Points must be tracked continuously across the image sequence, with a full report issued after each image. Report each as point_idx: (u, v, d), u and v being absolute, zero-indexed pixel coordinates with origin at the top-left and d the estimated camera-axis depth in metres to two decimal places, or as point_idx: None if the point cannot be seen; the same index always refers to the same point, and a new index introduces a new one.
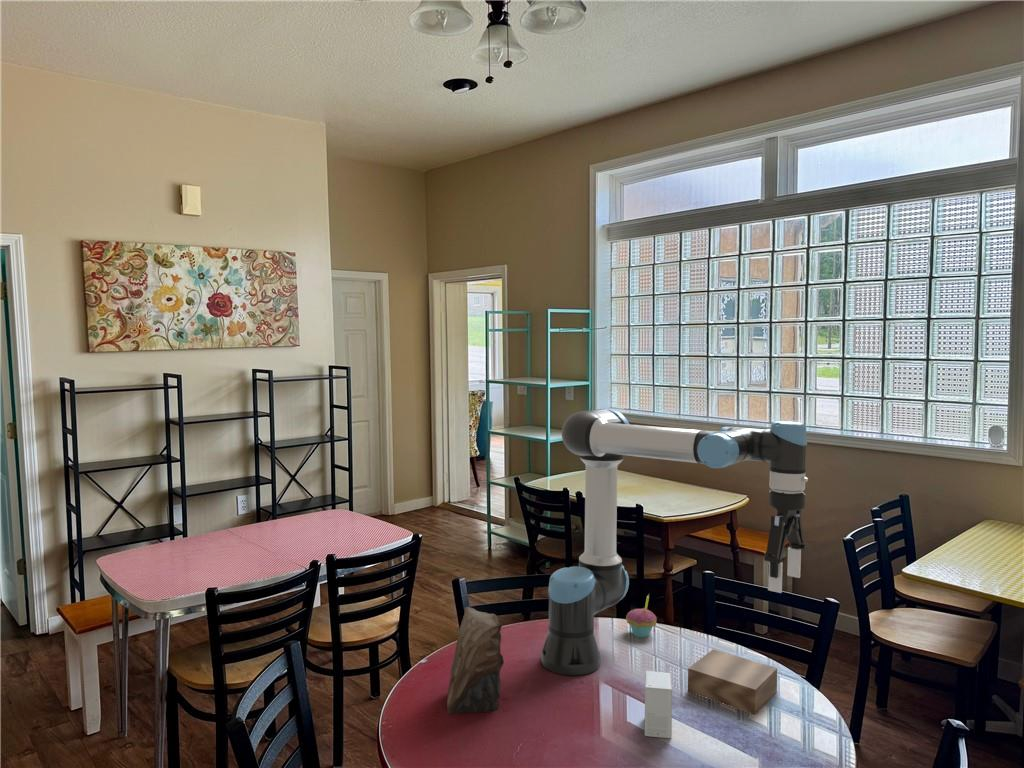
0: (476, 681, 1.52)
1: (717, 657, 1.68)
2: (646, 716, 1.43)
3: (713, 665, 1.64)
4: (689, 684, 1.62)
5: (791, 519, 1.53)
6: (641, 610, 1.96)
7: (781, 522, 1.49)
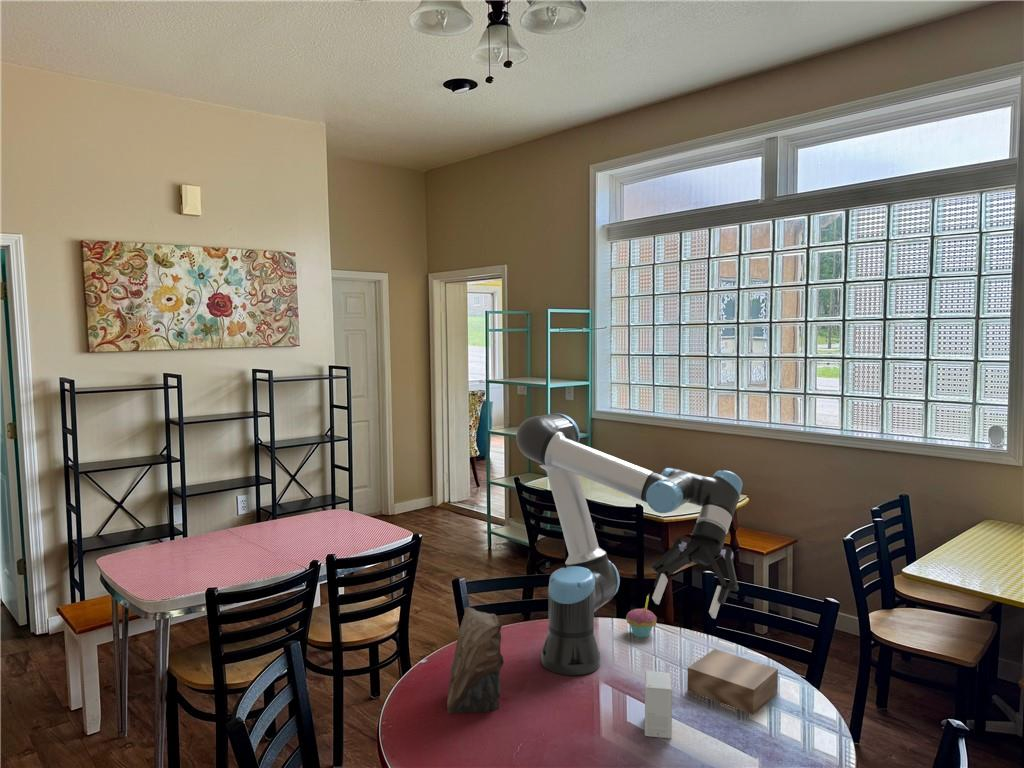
0: (476, 681, 1.52)
1: (718, 657, 1.68)
2: (646, 716, 1.43)
3: (713, 665, 1.64)
4: (689, 683, 1.63)
5: None
6: (641, 610, 1.96)
7: (733, 557, 1.58)
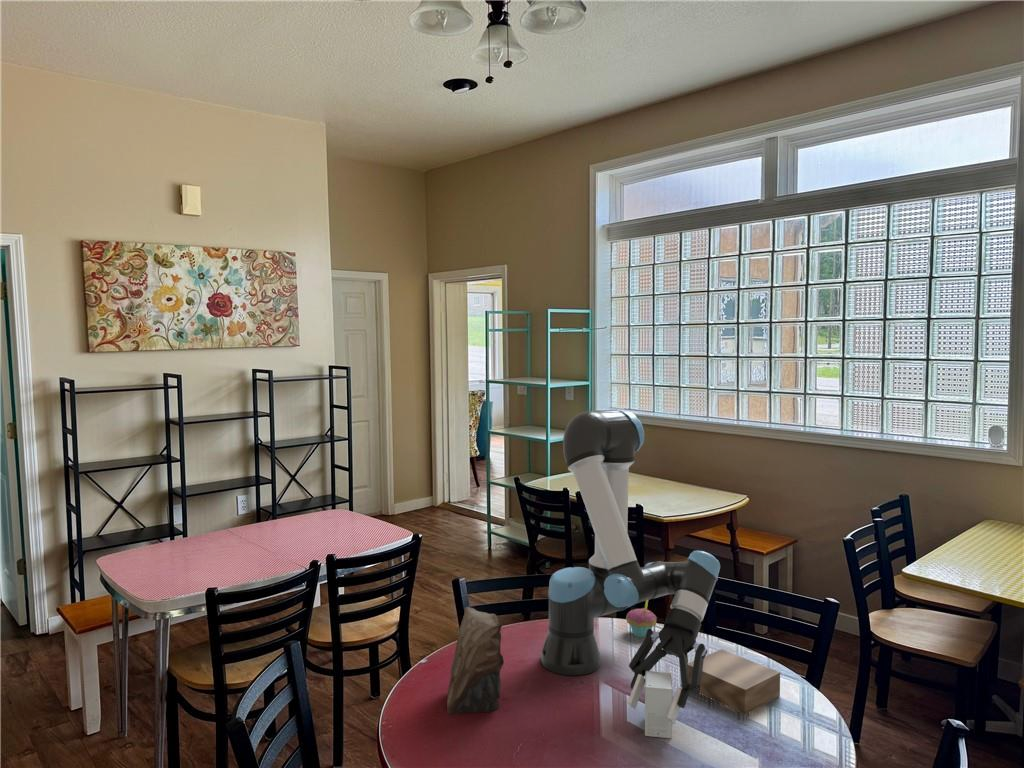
0: (476, 681, 1.52)
1: (722, 657, 1.68)
2: (646, 716, 1.43)
3: (713, 663, 1.65)
4: None
5: None
6: (641, 610, 1.96)
7: (705, 654, 1.48)
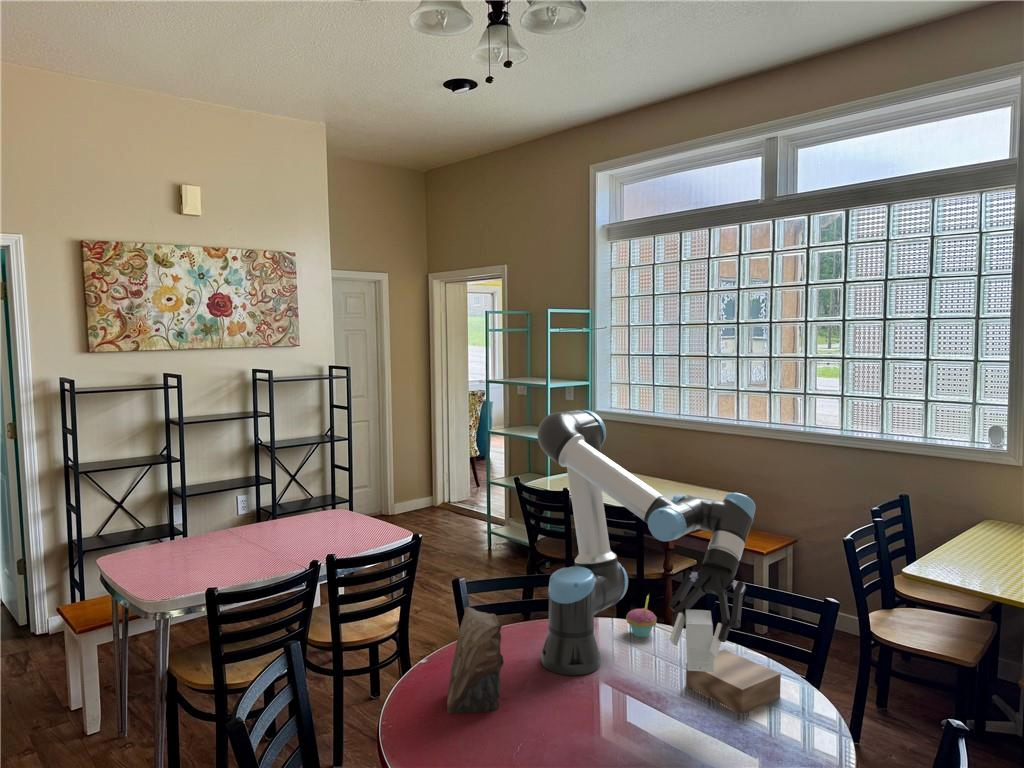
0: (476, 681, 1.52)
1: (724, 657, 1.69)
2: (688, 651, 1.47)
3: (714, 663, 1.65)
4: (687, 678, 1.65)
5: None
6: (641, 610, 1.96)
7: (744, 591, 1.51)
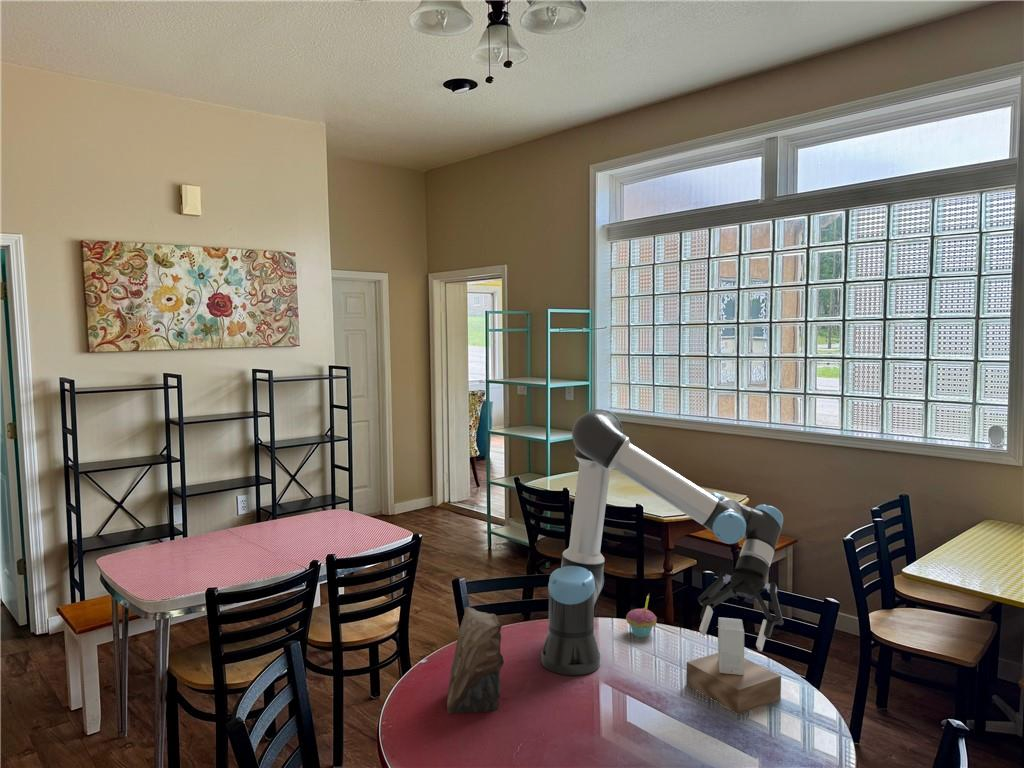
0: (476, 681, 1.52)
1: None
2: (720, 655, 1.60)
3: (714, 663, 1.65)
4: (687, 677, 1.66)
5: None
6: (641, 610, 1.96)
7: None
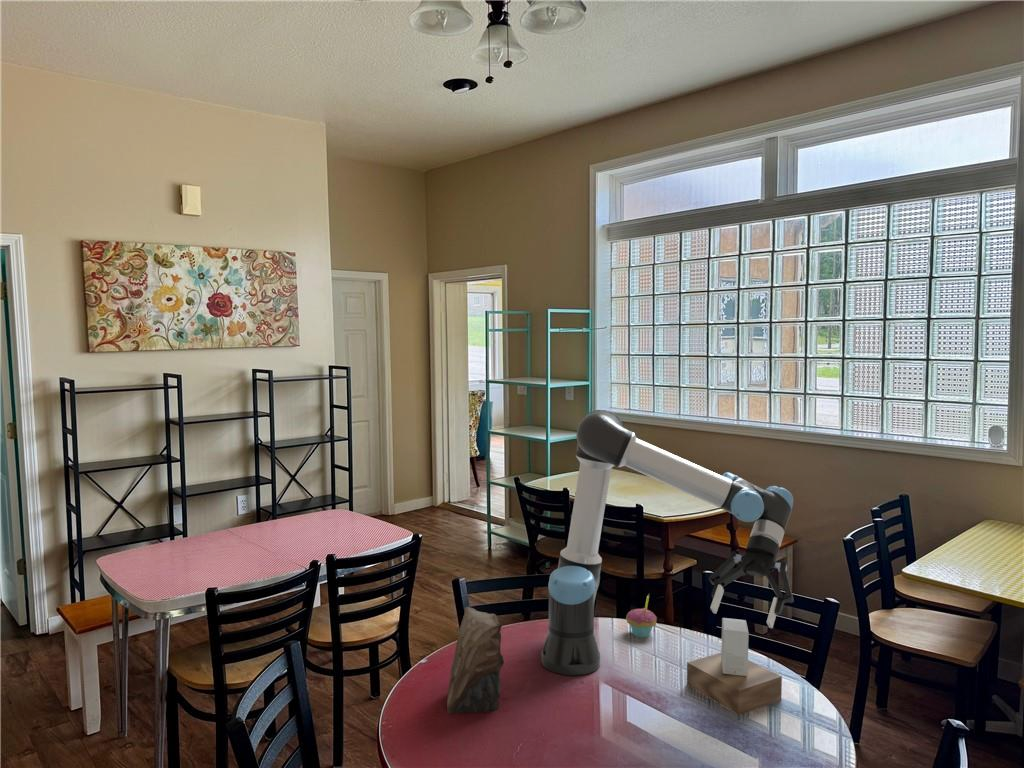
0: (476, 681, 1.52)
1: None
2: (724, 656, 1.59)
3: (715, 663, 1.65)
4: (688, 678, 1.65)
5: None
6: (641, 610, 1.96)
7: (787, 570, 1.67)
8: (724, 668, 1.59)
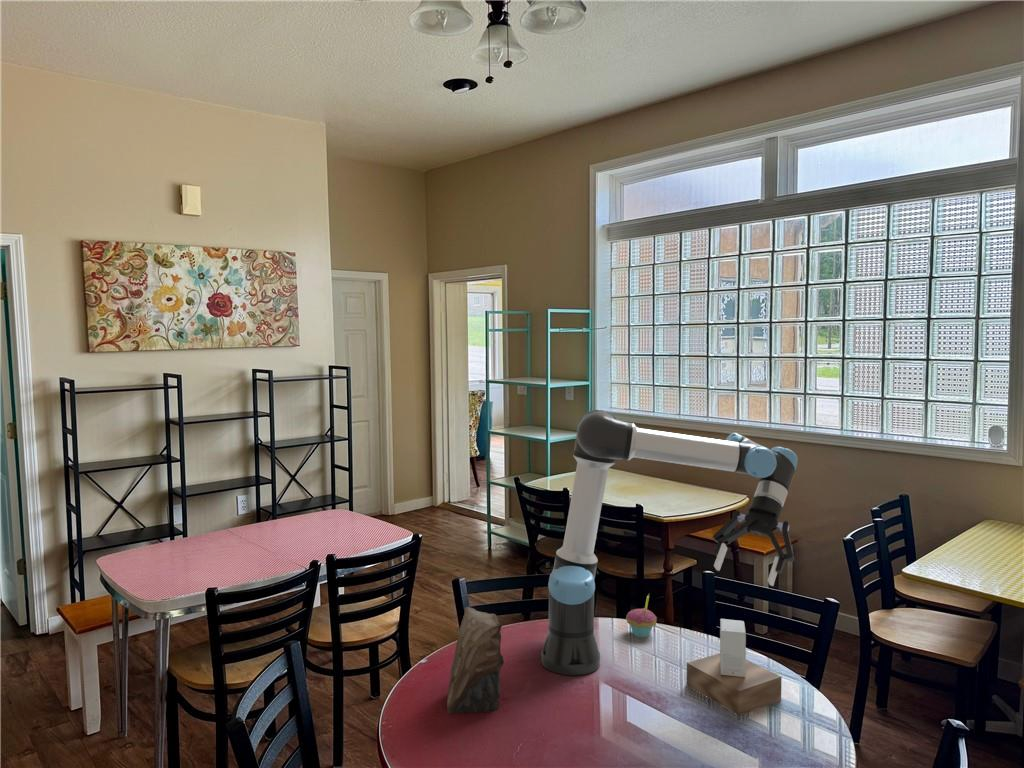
0: (476, 681, 1.52)
1: None
2: (722, 657, 1.59)
3: (715, 664, 1.65)
4: (687, 678, 1.65)
5: None
6: (641, 610, 1.96)
7: (789, 529, 1.73)
8: (722, 669, 1.59)
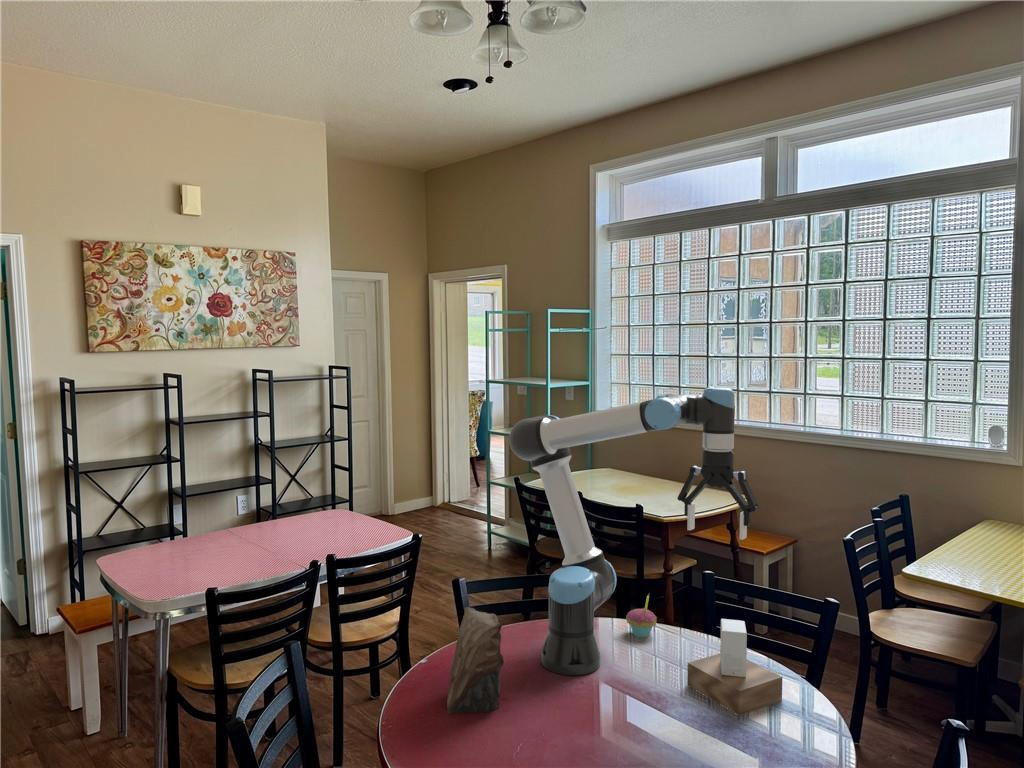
0: (476, 681, 1.52)
1: None
2: (723, 657, 1.59)
3: (715, 664, 1.65)
4: (688, 678, 1.65)
5: None
6: (641, 610, 1.96)
7: (746, 475, 1.68)
8: (723, 669, 1.59)
